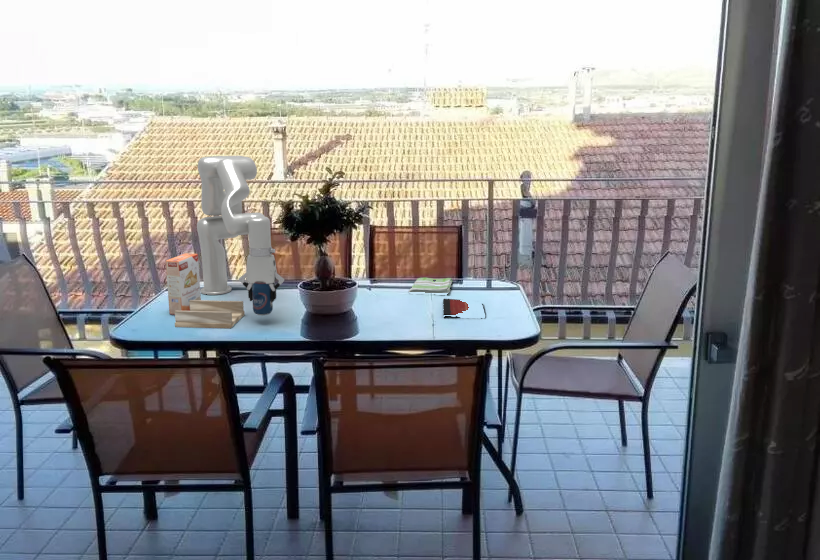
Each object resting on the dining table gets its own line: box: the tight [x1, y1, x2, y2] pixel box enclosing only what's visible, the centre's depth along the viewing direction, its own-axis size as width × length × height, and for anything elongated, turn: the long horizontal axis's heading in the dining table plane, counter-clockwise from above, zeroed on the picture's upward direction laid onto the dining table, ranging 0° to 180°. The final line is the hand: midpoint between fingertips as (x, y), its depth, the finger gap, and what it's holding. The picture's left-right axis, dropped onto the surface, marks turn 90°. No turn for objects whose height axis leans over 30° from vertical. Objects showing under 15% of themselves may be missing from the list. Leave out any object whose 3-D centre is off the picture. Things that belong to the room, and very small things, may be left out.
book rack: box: [174, 299, 246, 329], centre depth 235 cm, size 16×20×6 cm
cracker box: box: [165, 252, 202, 316], centre depth 246 cm, size 14×6×21 cm, turn 168°
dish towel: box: [408, 277, 454, 294], centre depth 281 cm, size 17×23×4 cm
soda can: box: [252, 282, 274, 316], centre depth 232 cm, size 7×7×12 cm
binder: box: [442, 298, 469, 315], centre depth 250 cm, size 16×2×21 cm
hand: (262, 299), depth 232 cm, fingers closed on soda can, 7 cm apart
